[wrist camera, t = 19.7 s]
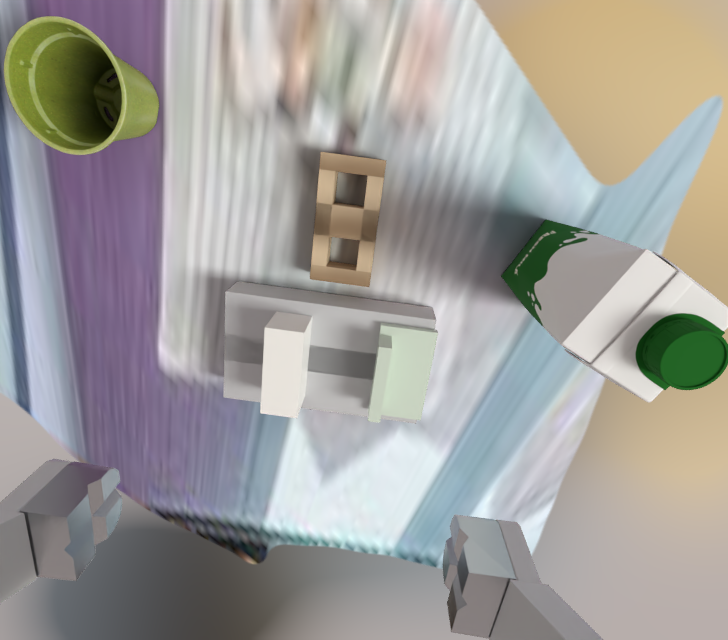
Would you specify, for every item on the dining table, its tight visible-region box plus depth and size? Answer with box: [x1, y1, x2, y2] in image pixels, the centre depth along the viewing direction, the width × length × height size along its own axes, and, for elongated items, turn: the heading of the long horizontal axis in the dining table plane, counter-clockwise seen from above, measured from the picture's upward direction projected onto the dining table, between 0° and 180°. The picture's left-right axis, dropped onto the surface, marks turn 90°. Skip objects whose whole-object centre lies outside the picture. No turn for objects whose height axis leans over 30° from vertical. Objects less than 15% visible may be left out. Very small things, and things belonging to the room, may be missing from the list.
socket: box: [224, 281, 436, 423], centre depth 47 cm, size 12×21×4 cm, turn 83°
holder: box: [310, 152, 386, 287], centre depth 43 cm, size 12×6×2 cm, turn 173°
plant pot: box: [4, 16, 159, 155], centre depth 37 cm, size 9×9×9 cm
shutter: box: [368, 323, 438, 423], centre depth 43 cm, size 10×6×4 cm, turn 173°
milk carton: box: [501, 220, 728, 402], centre depth 35 cm, size 9×9×20 cm
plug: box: [260, 312, 312, 418], centre depth 44 cm, size 9×4×7 cm, turn 173°
